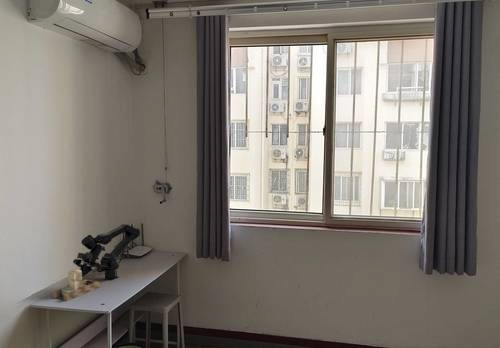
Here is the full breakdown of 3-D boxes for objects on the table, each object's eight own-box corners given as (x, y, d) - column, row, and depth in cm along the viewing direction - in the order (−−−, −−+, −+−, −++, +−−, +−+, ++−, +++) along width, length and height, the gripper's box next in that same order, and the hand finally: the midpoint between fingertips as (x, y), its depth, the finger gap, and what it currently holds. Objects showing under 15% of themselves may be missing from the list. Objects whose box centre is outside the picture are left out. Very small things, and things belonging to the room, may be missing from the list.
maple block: (77, 284, 240) (75, 269, 239) (82, 286, 237) (81, 270, 236) (69, 287, 235) (67, 272, 234) (75, 289, 233) (73, 273, 232)
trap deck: (85, 284, 249) (85, 279, 249) (100, 287, 243) (99, 282, 243) (52, 297, 230) (51, 292, 230) (67, 300, 224) (66, 295, 224)
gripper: (74, 245, 246) (59, 269, 237) (96, 247, 237) (81, 273, 228) (86, 254, 253) (72, 278, 245) (108, 258, 244) (94, 282, 236)
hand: (79, 277), depth 238 cm, fingers closed, pressing on maple block
